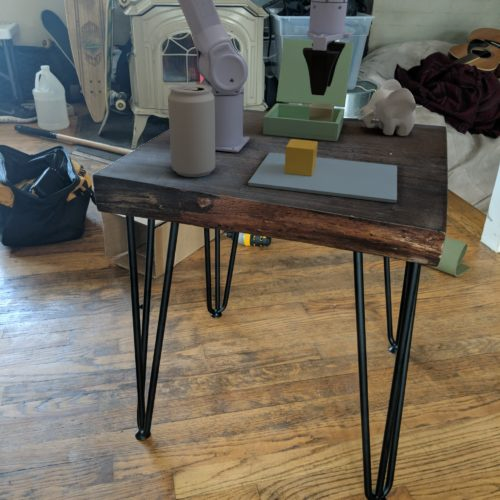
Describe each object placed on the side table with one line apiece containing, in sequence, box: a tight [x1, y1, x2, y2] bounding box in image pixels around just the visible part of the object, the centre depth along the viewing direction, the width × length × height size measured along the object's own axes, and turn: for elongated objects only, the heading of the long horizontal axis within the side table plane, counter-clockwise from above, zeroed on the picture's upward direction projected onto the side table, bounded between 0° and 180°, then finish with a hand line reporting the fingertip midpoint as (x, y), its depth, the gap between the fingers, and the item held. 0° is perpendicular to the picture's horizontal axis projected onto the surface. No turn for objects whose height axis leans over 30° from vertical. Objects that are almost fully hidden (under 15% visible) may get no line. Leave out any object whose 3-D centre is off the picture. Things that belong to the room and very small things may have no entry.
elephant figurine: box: [354, 78, 423, 137], centre depth 95 cm, size 10×12×9 cm
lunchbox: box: [262, 102, 345, 142], centre depth 96 cm, size 11×13×3 cm
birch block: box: [309, 103, 335, 122], centre depth 95 cm, size 4×4×4 cm
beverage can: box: [167, 83, 216, 178], centre depth 73 cm, size 6×6×12 cm
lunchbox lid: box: [276, 38, 355, 108], centre depth 101 cm, size 12×13×3 cm
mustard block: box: [284, 138, 319, 176], centre depth 75 cm, size 4×4×4 cm
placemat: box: [247, 151, 398, 204], centre depth 75 cm, size 20×14×1 cm
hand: (321, 90), depth 88 cm, fingers open, 7 cm apart
